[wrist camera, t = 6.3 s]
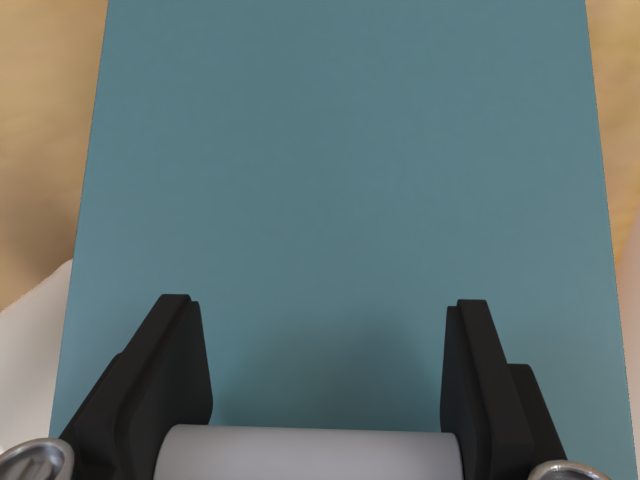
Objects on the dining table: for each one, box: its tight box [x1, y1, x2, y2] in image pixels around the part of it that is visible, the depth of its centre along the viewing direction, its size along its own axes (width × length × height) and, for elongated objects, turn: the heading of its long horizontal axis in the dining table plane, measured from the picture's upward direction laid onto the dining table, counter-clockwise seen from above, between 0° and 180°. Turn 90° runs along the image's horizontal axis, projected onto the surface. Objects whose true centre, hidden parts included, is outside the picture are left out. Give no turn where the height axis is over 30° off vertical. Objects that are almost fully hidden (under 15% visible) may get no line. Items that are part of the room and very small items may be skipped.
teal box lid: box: [48, 0, 638, 480], centre depth 13 cm, size 17×14×5 cm
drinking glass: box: [0, 259, 73, 455], centre depth 30 cm, size 7×7×15 cm
